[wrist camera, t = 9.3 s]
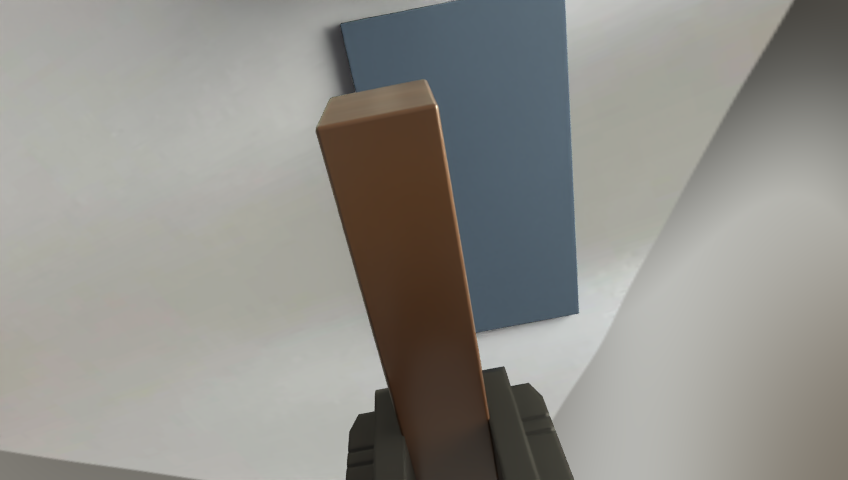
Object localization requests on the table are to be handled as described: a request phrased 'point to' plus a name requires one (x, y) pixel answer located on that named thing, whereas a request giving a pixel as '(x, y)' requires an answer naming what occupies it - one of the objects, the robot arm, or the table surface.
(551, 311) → the mat
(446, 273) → the fork
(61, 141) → the table surface
